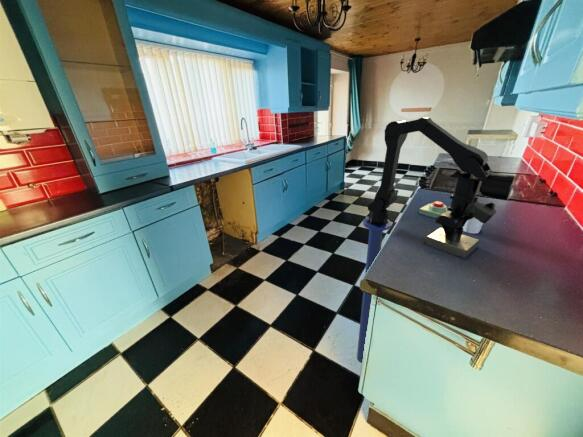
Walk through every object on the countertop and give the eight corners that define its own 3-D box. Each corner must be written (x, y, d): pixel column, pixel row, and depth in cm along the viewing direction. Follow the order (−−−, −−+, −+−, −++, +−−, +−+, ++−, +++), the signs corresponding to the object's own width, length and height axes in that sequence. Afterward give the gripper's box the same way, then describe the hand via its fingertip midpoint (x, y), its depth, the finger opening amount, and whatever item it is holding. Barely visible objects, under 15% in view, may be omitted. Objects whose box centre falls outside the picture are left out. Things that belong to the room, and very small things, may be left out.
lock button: (431, 206, 103) (432, 202, 102) (435, 204, 105) (436, 200, 104) (440, 208, 100) (441, 204, 100) (444, 206, 102) (445, 202, 102)
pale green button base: (418, 213, 106) (420, 204, 104) (428, 207, 111) (430, 199, 109) (445, 220, 98) (447, 212, 96) (454, 214, 103) (456, 206, 101)
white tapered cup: (466, 224, 94) (470, 208, 91) (485, 231, 88) (491, 214, 85) (455, 228, 91) (459, 212, 89) (474, 236, 86) (479, 218, 83)
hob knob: (457, 242, 77) (460, 231, 75) (442, 237, 80) (445, 226, 78) (462, 238, 79) (465, 226, 77) (448, 233, 82) (451, 222, 81)
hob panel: (425, 243, 83) (427, 236, 81) (438, 234, 88) (440, 227, 87) (464, 258, 74) (467, 250, 73) (476, 247, 79) (479, 239, 78)
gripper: (485, 208, 62) (469, 257, 69) (507, 191, 72) (491, 236, 79) (440, 197, 70) (429, 242, 77) (465, 184, 80) (454, 225, 87)
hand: (452, 236), depth 80 cm, fingers open, 6 cm apart
